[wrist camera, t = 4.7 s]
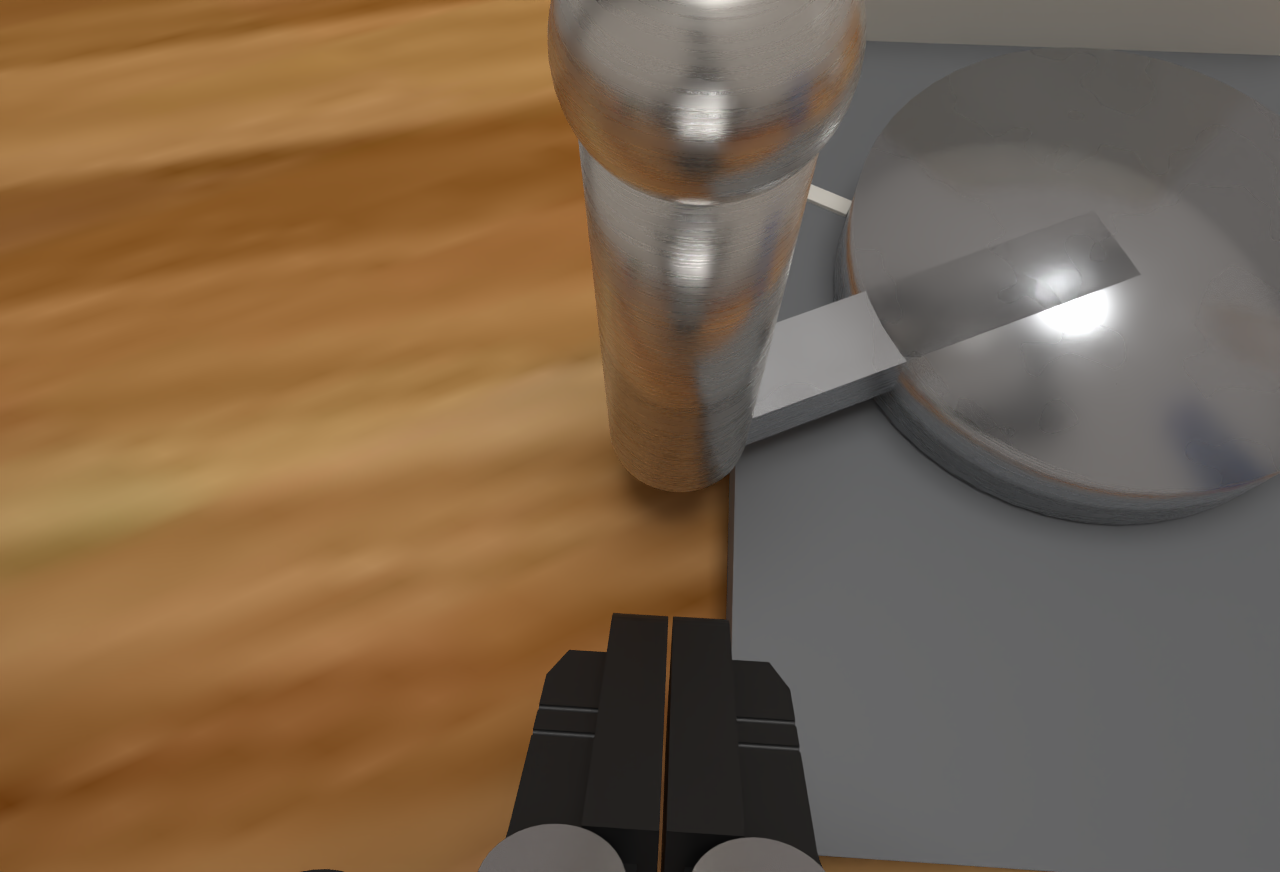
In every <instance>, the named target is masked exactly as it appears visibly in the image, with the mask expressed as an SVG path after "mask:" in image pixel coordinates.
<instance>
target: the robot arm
mask: <svg viewBox="0 0 1280 872" xmlns="http://www.w3.org/2000/svg"><path fill="white" fill-rule="evenodd" d="M667 634H668V616H653V615H637V614H620V613H613V615H612V621H611V627H610V634H609V641H608V648H607V652H594V651H578V650H569V651H568V652H567V653H566V654H565V655H564V656H563V657H562V658H561V659H560V660H559V661H558V663H557V664H556V665H555V666H554V667H553V668H552V669H551V670H550V671H549V672H548V673H547V675H546V679H545V683H544V687H543V691H542V695H541V699H540V703H539V710H538V711H537V715H536V719H535V723H534V728H533V735H532V736H531V740H530V744H529V748H528V752H527V756H526V760H525V764H524V768H523V772H522V776H521V780H520V785H519V789H518V793H517V797H516V801H515V805H514V809H513V813H512V817H511V821H510V825H509V829H508V832H507V835H506V838H505V839H504V840H503V841H502V842H500V843H499V844H498V845H497V846H496V847H495V848H494V849H493V850H492V851H490V852H489V854H488V855H487V857H486V858H485V859H484V861H483V862H482V864H481V866H480V869H479V871H478V872H657V861H658V843H659V824H660V800H661V776H662V752H663V729H664V705H665V681H666V657H667ZM799 747H800V745H799V739H798V733H797V727H796V726H795V715H794V709H793V703H792V697H791V691H790V688H789V687H788V686H787V685H786V683H785V682H784V681H783V679H782V678H781V677H780V675H779V674H778V673H777V672H776V670H775V669H774V668H773V666H772V665H771V664H770V662H760V661H744V660H732V651H731V637H730V624H729V620H724V619H707V618H690V617H674V616H673V626H672V643H671V660H670V677H669V695H668V712H667V731H666V751H665V776H664V803H663V829H662V856H661V872H825V871H824V869H823V868H822V865H821V863H820V860H819V856H818V853H817V847H816V841H815V835H814V829H813V823H812V817H811V811H810V805H809V799H808V793H807V787H806V781H805V775H804V769H803V763H802V757H801V752H800V751H799ZM303 872H343V871H338V870H329V869H321V870H309V871H303Z"/></svg>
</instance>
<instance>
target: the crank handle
mask: <svg viewBox="0 0 1280 872" xmlns="http://www.w3.org/2000/svg"><path fill="white" fill-rule="evenodd" d="M865 47H866V7H865V0H551V4H550V10H549V19H548V57H549V64H550V69H551V75H552V79H553V84H554V88H555V92H556V94H557V97H558V100H559V102H560V105H561V108H562V110H563V112H564V115H565V117H566V119H567V121H568V123H569V125H570V126H571V128H572V130H573V132H574V133H575V135H576V136H577V138H578V140H579V149H580V159H581V168H582V177H583V186H584V196H585V205H586V214H587V224H588V233H589V242H590V251H591V261H592V270H593V279H594V289H595V298H596V307H597V316H598V326H599V335H600V344H601V354H602V363H603V372H604V381H605V391H606V400H607V409H608V418H609V428H610V436H611V442H612V445H613V448H614V451H615V453H616V455H617V457H618V459H619V461H620V462H621V464H622V465H623V466H624V467H625V468H626V470H627V471H628V472H629V473H630V474H632V475H633V476H634V477H635V478H636V479H638V480H640V481H641V482H643V483H644V484H647V485H649V486H651V487H653V488H656V489H659V490H664V491H669V492H690V491H696V490H699V489H703V488H706V487H708V486H710V485H712V484H714V483H716V482H718V481H719V480H721V479H722V478H723V477H725V476H726V475H727V474H728V473H729V472H730V471H731V470H732V469H733V468H734V467H735V465H736V464H737V462H738V461H739V459H740V457H741V455H742V453H743V451H744V448H745V445H747V444H750V443H753V442H755V441H758V440H761V439H764V438H766V437H769V436H772V435H774V434H777V433H780V432H782V431H785V430H788V429H790V428H793V427H796V426H798V425H801V424H804V423H806V422H809V421H812V420H814V419H817V418H820V417H822V416H825V415H828V414H830V413H833V412H836V411H838V410H841V409H844V408H847V407H849V406H852V405H855V404H857V403H860V402H863V401H865V400H868V399H871V398H873V399H874V401H875V403H876V404H877V405H878V406H879V407H880V409H881V410H882V411H883V412H884V413H885V415H886V416H887V417H888V418H889V419H890V421H891V422H892V423H893V424H894V425H895V427H896V428H897V429H898V430H899V431H900V432H901V433H902V434H904V435H905V436H906V437H907V438H908V439H909V440H910V441H911V442H912V443H913V444H914V445H915V446H916V447H917V448H918V449H919V450H920V451H922V452H923V453H924V454H926V455H927V456H928V457H930V458H931V459H932V460H934V461H935V462H936V463H938V464H939V465H940V466H942V467H943V468H944V469H946V470H947V471H948V472H950V473H952V474H953V475H955V476H957V477H958V478H960V479H962V480H964V481H965V482H967V483H969V484H970V485H972V486H974V487H976V488H977V489H979V490H981V491H983V492H985V493H988V494H990V495H992V496H994V497H997V498H999V499H1001V500H1003V501H1006V502H1008V503H1010V504H1012V505H1015V506H1018V507H1022V508H1025V509H1028V510H1031V511H1034V512H1037V513H1041V514H1044V515H1047V516H1052V517H1057V518H1062V519H1067V520H1072V521H1077V522H1082V523H1096V524H1109V525H1132V524H1152V523H1158V522H1163V521H1169V520H1174V519H1180V518H1185V517H1188V516H1191V515H1194V514H1197V513H1200V512H1203V511H1206V510H1209V509H1212V508H1215V507H1217V506H1219V505H1221V504H1223V503H1225V502H1227V501H1229V500H1231V499H1233V498H1235V497H1237V496H1239V495H1241V494H1243V493H1245V492H1247V491H1248V490H1250V489H1252V488H1254V487H1256V486H1257V485H1259V484H1261V483H1263V482H1265V481H1267V480H1268V479H1270V478H1272V477H1274V476H1276V475H1277V474H1279V473H1280V116H1279V115H1277V114H1276V113H1274V112H1273V111H1271V110H1270V109H1268V108H1267V107H1265V106H1264V105H1262V104H1261V103H1259V102H1258V101H1256V100H1254V99H1253V98H1251V97H1249V96H1247V95H1245V94H1243V93H1242V92H1240V91H1238V90H1236V89H1234V88H1232V87H1231V86H1229V85H1227V84H1225V83H1222V82H1220V81H1218V80H1215V79H1213V78H1211V77H1208V76H1206V75H1204V74H1202V73H1199V72H1197V71H1194V70H1191V69H1188V68H1185V67H1182V66H1179V65H1176V64H1173V63H1170V62H1167V61H1163V60H1159V59H1155V58H1151V57H1147V56H1142V55H1138V54H1134V53H1127V52H1120V51H1113V50H1106V49H1095V48H1075V47H1066V48H1044V49H1035V50H1028V51H1021V52H1014V53H1009V54H1005V55H1001V56H997V57H994V58H990V59H986V60H982V61H980V62H977V63H975V64H972V65H969V66H967V67H964V68H962V69H959V70H957V71H955V72H953V73H951V74H949V75H947V76H945V77H944V78H942V79H940V80H938V81H936V82H934V83H933V84H931V85H930V86H928V87H927V88H926V89H924V90H923V91H922V92H920V93H919V94H917V95H916V96H915V97H913V98H912V99H911V100H910V101H909V102H908V103H907V104H906V105H905V106H904V107H903V108H902V109H901V110H900V111H898V112H897V113H896V114H895V115H894V116H893V117H892V119H891V120H890V121H889V123H888V124H887V125H886V127H885V128H884V129H883V131H882V132H881V133H880V135H879V136H878V137H877V139H876V141H875V143H874V145H873V147H872V149H871V151H870V153H869V155H868V156H867V158H866V160H865V163H864V166H863V169H862V172H861V175H860V178H859V181H858V185H857V188H856V191H855V194H854V197H853V200H852V203H851V206H850V209H849V212H848V215H847V218H846V221H845V225H844V228H843V231H842V234H841V237H840V240H839V243H838V246H837V253H836V259H835V266H834V301H835V302H833V303H831V304H828V305H825V306H822V307H819V308H816V309H814V310H811V311H808V312H805V313H802V314H800V315H797V316H794V317H791V318H788V319H785V320H783V321H780V322H777V318H778V314H779V310H780V306H781V302H782V298H783V294H784V290H785V286H786V282H787V278H788V274H789V270H790V266H791V262H792V258H793V254H794V250H795V246H796V242H797V238H798V234H799V230H800V226H801V222H802V218H803V214H804V210H805V206H806V202H807V198H808V194H809V190H810V186H811V182H812V178H813V174H814V170H815V166H816V162H817V158H818V154H819V152H820V151H821V149H822V148H823V147H824V146H825V145H826V143H827V142H828V141H829V139H830V138H831V137H832V136H833V134H834V133H835V131H836V129H837V128H838V126H839V124H840V122H841V121H842V119H843V117H844V115H845V113H846V112H847V110H848V108H849V106H850V103H851V101H852V98H853V95H854V93H855V90H856V87H857V84H858V81H859V78H860V75H861V70H862V65H863V60H864V53H865ZM776 322H777V323H776Z"/></svg>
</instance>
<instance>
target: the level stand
mask: <svg viewBox="0 0 1280 872" xmlns="http://www.w3.org/2000/svg"><path fill="white" fill-rule="evenodd" d="M865 7H866V47H865V53H864V60H863V65H862V70H861V75H860V78H859V81H858V84H857V87H856V90H855V93H854V95H853V98H852V101H851V103H850V106H849V108H848V110H847V112H846V113H845V115H844V117H843V119H842V121H841V122H840V124H839V126H838V128H837V129H836V131H835V133H834V134H833V136H832V137H831V138H830V139H829V141H828V142H827V143H826V145H825V146H824V147H823V148H822V149H821V151H820V152H819V154H818V158H817V162H816V166H815V170H814V174H813V178H812V182H811V186H810V190H809V194H808V198H807V202H806V206H805V210H804V214H803V218H802V222H801V226H800V230H799V234H798V238H797V242H796V246H795V250H794V254H793V258H792V262H791V266H790V270H789V274H788V278H787V282H786V286H785V290H784V294H783V298H782V302H781V306H780V310H779V314H778V318H777V322H780V321H783V320H785V319H788V318H791V317H794V316H797V315H800V314H802V313H805V312H808V311H811V310H814V309H816V308H819V307H822V306H825V305H828V304H831V303H833V302H835V301H834V266H835V259H836V253H837V246H838V243H839V240H840V237H841V234H842V231H843V228H844V225H845V221H846V218H847V215H848V212H849V209H850V206H851V203H852V200H853V197H854V194H855V191H856V188H857V185H858V181H859V178H860V175H861V172H862V169H863V166H864V163H865V160H866V158H867V156H868V155H869V153H870V151H871V149H872V147H873V145H874V143H875V141H876V139H877V137H878V136H879V135H880V133H881V132H882V131H883V129H884V128H885V127H886V125H887V124H888V123H889V121H890V120H891V119H892V117H893V116H894V115H895V114H896V113H897V112H898V111H900V110H901V109H902V108H903V107H904V106H905V105H906V104H907V103H908V102H909V101H910V100H911V99H912V98H913V97H915V96H916V95H917V94H919V93H920V92H922V91H923V90H924V89H926V88H927V87H928V86H930V85H931V84H933V83H934V82H936V81H938V80H940V79H942V78H944V77H945V76H947V75H949V74H951V73H953V72H955V71H957V70H959V69H962V68H964V67H967V66H969V65H972V64H975V63H977V62H980V61H982V60H986V59H990V58H994V57H997V56H1001V55H1005V54H1009V53H1014V52H1021V51H1028V50H1035V49H1044V48H1066V47H1075V48H1095V49H1106V50H1113V51H1120V52H1127V53H1134V54H1138V55H1142V56H1147V57H1151V58H1155V59H1159V60H1163V61H1167V62H1170V63H1173V64H1176V65H1179V66H1182V67H1185V68H1188V69H1191V70H1194V71H1197V72H1199V73H1202V74H1204V75H1206V76H1208V77H1211V78H1213V79H1215V80H1218V81H1220V82H1222V83H1225V84H1227V85H1229V86H1231V87H1232V88H1234V89H1236V90H1238V91H1240V92H1242V93H1243V94H1245V95H1247V96H1249V97H1251V98H1253V99H1254V100H1256V101H1258V102H1259V103H1261V104H1262V105H1264V106H1265V107H1267V108H1268V109H1270V110H1271V111H1273V112H1274V113H1276V114H1277V115H1279V116H1280V0H865ZM777 322H776V323H777ZM726 620H729V624H730V637H731V651H732V660H744V661H760V662H770V664H771V665H772V666H773V668H774V669H775V670H776V672H777V673H778V674H779V675H780V677H781V678H782V679H783V681H784V682H785V683H786V685H787V686H788V687H789V688H790V691H791V697H792V703H793V709H794V715H795V726H796V727H797V733H798V739H799V745H800V747H799V751H800V752H801V757H802V763H803V769H804V775H805V781H806V787H807V793H808V799H809V805H810V811H811V817H812V823H813V829H814V835H815V841H816V847H817V853H818V855H820V856H834V857H849V858H864V859H878V860H893V861H907V862H922V863H937V864H951V865H966V866H980V867H995V868H1010V869H1024V870H1039V871H1054V872H1280V473H1279V474H1277V475H1276V476H1274V477H1272V478H1270V479H1268V480H1267V481H1265V482H1263V483H1261V484H1259V485H1257V486H1256V487H1254V488H1252V489H1250V490H1248V491H1247V492H1245V493H1243V494H1241V495H1239V496H1237V497H1235V498H1233V499H1231V500H1229V501H1227V502H1225V503H1223V504H1221V505H1219V506H1217V507H1215V508H1212V509H1209V510H1206V511H1203V512H1200V513H1197V514H1194V515H1191V516H1188V517H1185V518H1180V519H1174V520H1169V521H1163V522H1158V523H1152V524H1132V525H1109V524H1096V523H1082V522H1077V521H1072V520H1067V519H1062V518H1057V517H1052V516H1047V515H1044V514H1041V513H1037V512H1034V511H1031V510H1028V509H1025V508H1022V507H1018V506H1015V505H1012V504H1010V503H1008V502H1006V501H1003V500H1001V499H999V498H997V497H994V496H992V495H990V494H988V493H985V492H983V491H981V490H979V489H977V488H976V487H974V486H972V485H970V484H969V483H967V482H965V481H964V480H962V479H960V478H958V477H957V476H955V475H953V474H952V473H950V472H948V471H947V470H946V469H944V468H943V467H942V466H940V465H939V464H938V463H936V462H935V461H934V460H932V459H931V458H930V457H928V456H927V455H926V454H924V453H923V452H922V451H920V450H919V449H918V448H917V447H916V446H915V445H914V444H913V443H912V442H911V441H910V440H909V439H908V438H907V437H906V436H905V435H904V434H902V433H901V432H900V431H899V430H898V429H897V428H896V427H895V425H894V424H893V423H892V422H891V421H890V419H889V418H888V417H887V416H886V415H885V413H884V412H883V411H882V410H881V409H880V407H879V406H878V405H877V404H876V403H875V401H874V399H873V398H871V399H868V400H865V401H863V402H860V403H857V404H855V405H852V406H849V407H847V408H844V409H841V410H838V411H836V412H833V413H830V414H828V415H825V416H822V417H820V418H817V419H814V420H812V421H809V422H806V423H804V424H801V425H798V426H796V427H793V428H790V429H788V430H785V431H782V432H780V433H777V434H774V435H772V436H769V437H766V438H764V439H761V440H758V441H755V442H753V443H750V444H747V445H745V448H744V451H743V453H742V455H741V457H740V459H739V461H738V462H737V464H736V465H735V467H734V468H733V469H732V470H731V471H730V479H729V523H728V566H727V610H726Z"/></svg>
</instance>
